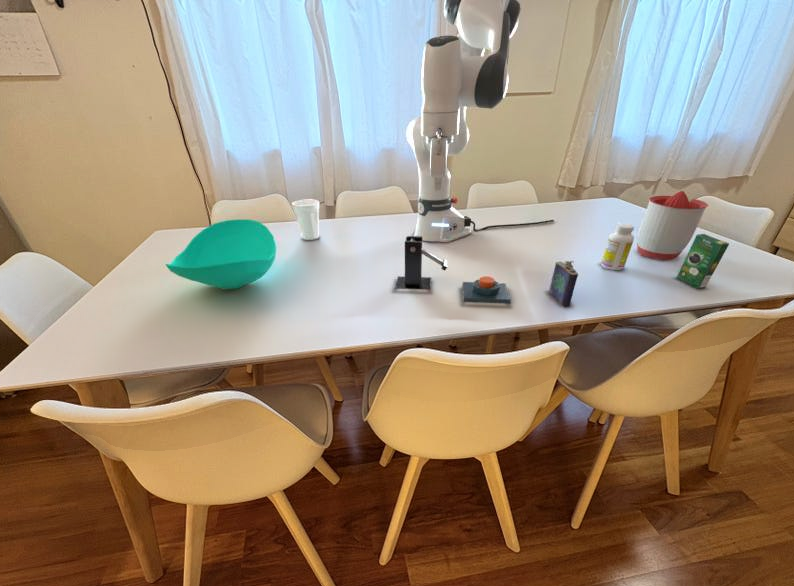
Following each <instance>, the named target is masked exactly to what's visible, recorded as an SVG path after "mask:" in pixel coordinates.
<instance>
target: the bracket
mask: <svg viewBox="0 0 794 586" xmlns="http://www.w3.org/2000/svg"><path fill="white" fill-rule="evenodd" d="M411 238H413V239H414V240H416V241H410V240H411ZM421 248H423V240H422V236H414V235H406V236H405V240H404V276H398V275H397V276H396V281H395V285H394V289H396V290H397V289H398V290H399V289H400V290H426V291H427V290H431V283H432V277H430V276H429V277H428V276H422V272H423V269H422V268H423V254H422V253H421Z"/></svg>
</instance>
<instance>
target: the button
mask: <svg viewBox="0 0 794 586" xmlns="http://www.w3.org/2000/svg"><path fill="white" fill-rule="evenodd" d="M478 280H479V286H480V287H483V288H492V287H494V282H495V281H496V280H495V278H494V277H492V276H481V277H479V279H478Z"/></svg>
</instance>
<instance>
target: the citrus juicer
mask: <svg viewBox="0 0 794 586" xmlns="http://www.w3.org/2000/svg"><path fill="white" fill-rule="evenodd" d="M648 200H649V202H648V204H647V207H646V209H645V213H644V215H643V218H642V221H641V224H640V226H639V230H638V235H637V244H636V246H637V252H638V253H639V254H640V256H644V257H647V258H652V259H656V260H662V261H668V260H674V259H676V258H678V256H680V254H682V253H683V251H684V250H685V249H686V247H688V245H689V243H690V242H691V240H692V238H693V236H694V234H695V233H696V231H697V228H698V225H699V223H700V221H701V219H702V217H703V215H704V212H705V210H706V208H707V207H708V206H709V204H708V203H707V202H706V201H703V200H700V199H695V198H693V199H691V200H689V198H688V196H687V194H686V192H685V190H680V191H678V192H676V193H675V194H673V195H656V196H651V197H649V199H648Z"/></svg>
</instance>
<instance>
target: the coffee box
mask: <svg viewBox="0 0 794 586" xmlns="http://www.w3.org/2000/svg"><path fill="white" fill-rule="evenodd" d="M729 245H730V243H729V242H726V241H723V240H721V239H718V238H716V237H713V236H711V235H708V234H706V233H699V234H698V233H697V234H696V235H695V237H694V239H693V242H692V244H691V246H690V248H689V250H688V251H687V254H686V256H685V259H684V261H683V263H682V265H681V266H680V269H679V271H678V274H677V275H676V279H677V280H679V281H681V282H683V283H685V284H687V285H689V286H691V287H692V288H696V289H697V290H701V289H706V287H707V286H708V284H709V282H710V280H711V278H712V276H713V274H714V273H715V271H716V269H717V267H718V266H719V264H720V262H721V260H722V259H723V256H724V255H725V253H726V252H727V249H728V247H729Z"/></svg>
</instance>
